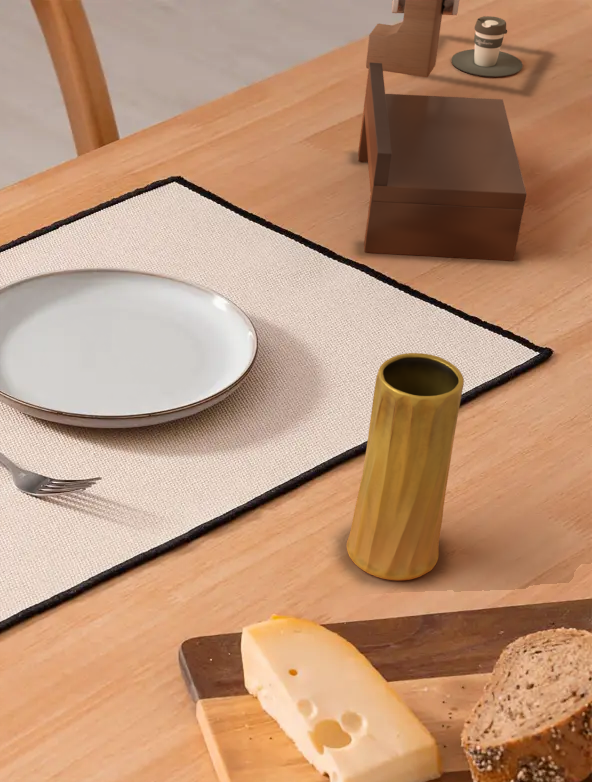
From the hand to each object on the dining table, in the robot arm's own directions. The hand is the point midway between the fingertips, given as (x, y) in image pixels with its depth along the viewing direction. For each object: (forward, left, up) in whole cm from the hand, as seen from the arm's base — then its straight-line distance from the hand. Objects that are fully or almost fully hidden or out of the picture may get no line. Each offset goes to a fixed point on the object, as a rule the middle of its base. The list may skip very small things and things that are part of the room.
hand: (424, 12), depth 157 cm
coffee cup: (-9, -12, -10) cm, 18 cm away
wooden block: (+2, 0, -6) cm, 6 cm away
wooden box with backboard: (-1, +23, -10) cm, 25 cm away
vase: (+5, +75, -10) cm, 76 cm away
